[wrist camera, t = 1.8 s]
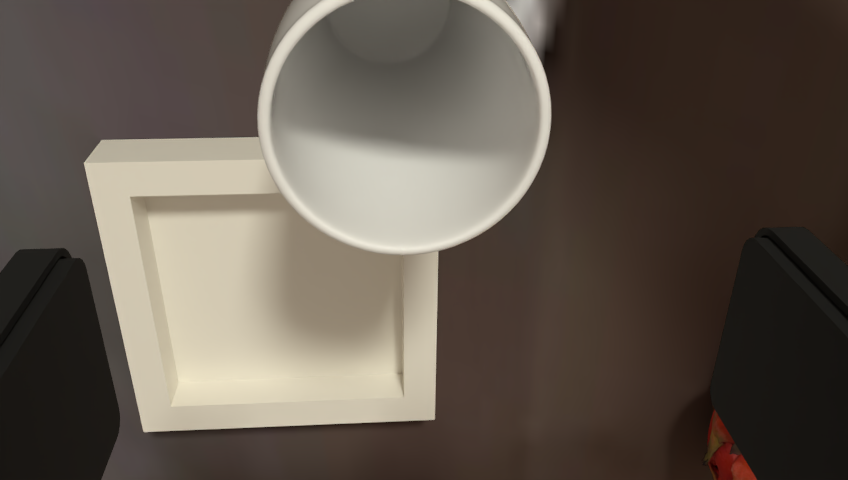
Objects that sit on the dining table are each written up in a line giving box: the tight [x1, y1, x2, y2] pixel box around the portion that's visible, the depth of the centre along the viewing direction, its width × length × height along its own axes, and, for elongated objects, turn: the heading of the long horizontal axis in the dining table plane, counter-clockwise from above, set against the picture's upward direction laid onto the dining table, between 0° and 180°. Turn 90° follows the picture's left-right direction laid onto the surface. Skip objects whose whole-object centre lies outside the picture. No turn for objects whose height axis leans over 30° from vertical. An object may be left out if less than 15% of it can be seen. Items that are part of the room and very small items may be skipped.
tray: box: [84, 137, 438, 432], centre depth 35 cm, size 14×14×2 cm
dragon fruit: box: [702, 407, 757, 480], centre depth 39 cm, size 8×8×12 cm
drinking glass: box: [257, 0, 551, 255], centre depth 24 cm, size 7×7×15 cm
